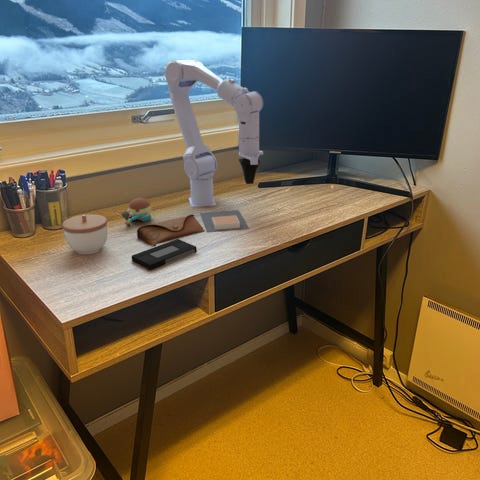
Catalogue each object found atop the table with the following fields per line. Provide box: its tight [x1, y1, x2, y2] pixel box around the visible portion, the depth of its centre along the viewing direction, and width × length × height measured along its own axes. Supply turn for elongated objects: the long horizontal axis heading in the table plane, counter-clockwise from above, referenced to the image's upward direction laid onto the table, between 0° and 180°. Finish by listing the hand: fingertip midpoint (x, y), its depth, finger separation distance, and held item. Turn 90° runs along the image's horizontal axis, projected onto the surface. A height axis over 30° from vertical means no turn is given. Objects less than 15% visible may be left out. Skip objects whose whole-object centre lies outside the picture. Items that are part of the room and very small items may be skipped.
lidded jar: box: [61, 213, 108, 256], centre depth 121 cm, size 11×11×9 cm
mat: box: [199, 209, 250, 233], centre depth 140 cm, size 16×12×1 cm
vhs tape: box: [131, 238, 198, 271], centre depth 118 cm, size 8×14×2 cm, turn 136°
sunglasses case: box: [136, 213, 206, 248], centre depth 131 cm, size 18×7×7 cm
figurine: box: [121, 197, 152, 227], centre depth 140 cm, size 7×10×7 cm
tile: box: [212, 215, 240, 230], centre depth 136 cm, size 2×7×6 cm
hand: (249, 183), depth 141 cm, fingers closed
